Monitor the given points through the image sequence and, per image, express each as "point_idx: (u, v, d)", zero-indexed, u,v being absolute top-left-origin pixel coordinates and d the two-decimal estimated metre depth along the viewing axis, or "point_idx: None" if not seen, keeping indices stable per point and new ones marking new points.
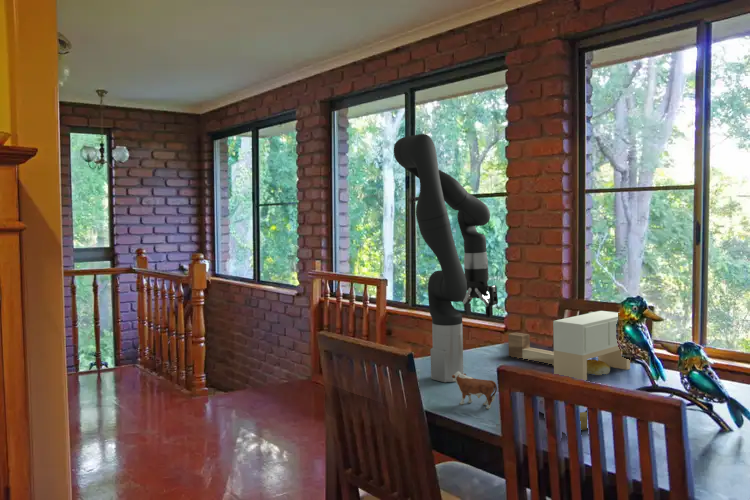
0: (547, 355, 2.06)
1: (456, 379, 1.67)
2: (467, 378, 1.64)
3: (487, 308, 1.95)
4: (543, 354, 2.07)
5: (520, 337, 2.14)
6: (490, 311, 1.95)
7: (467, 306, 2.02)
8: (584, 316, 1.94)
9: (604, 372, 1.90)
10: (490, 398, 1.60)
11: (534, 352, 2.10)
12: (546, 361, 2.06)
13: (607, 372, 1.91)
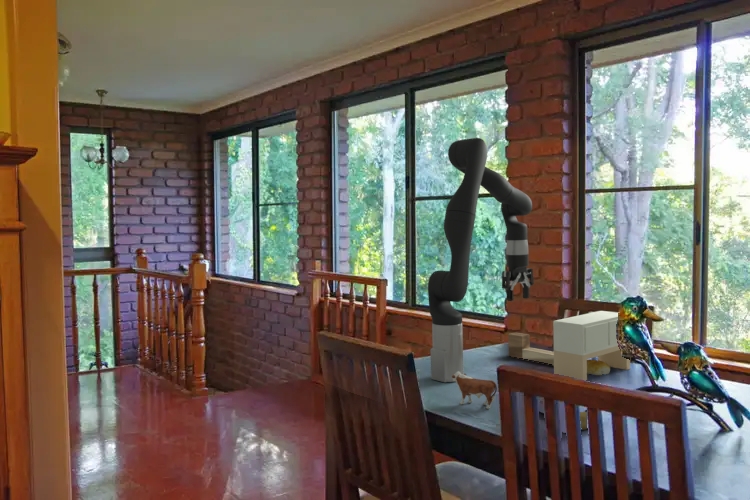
0: (547, 355, 2.06)
1: (456, 379, 1.67)
2: (467, 378, 1.64)
3: None
4: (543, 354, 2.07)
5: (520, 337, 2.14)
6: None
7: None
8: (584, 316, 1.94)
9: (604, 372, 1.90)
10: (490, 398, 1.60)
11: (534, 352, 2.10)
12: (546, 361, 2.06)
13: (607, 372, 1.91)
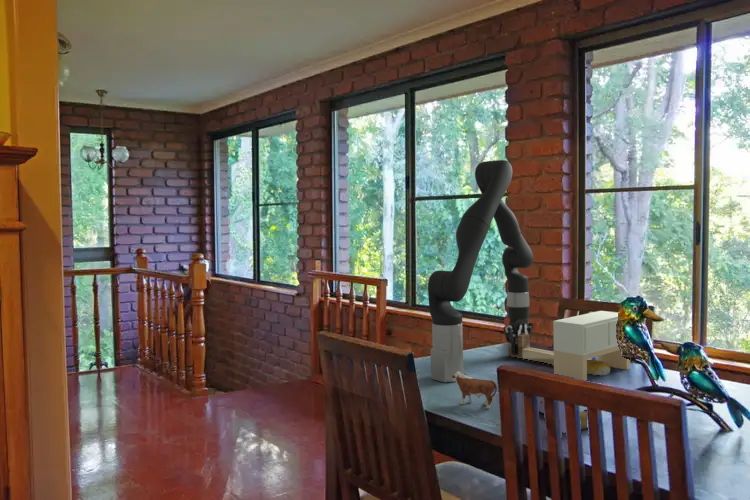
0: (547, 355, 2.06)
1: (456, 379, 1.67)
2: (467, 378, 1.64)
3: None
4: (543, 354, 2.07)
5: (520, 337, 2.14)
6: None
7: None
8: (584, 316, 1.94)
9: (604, 372, 1.90)
10: (490, 398, 1.60)
11: (534, 352, 2.10)
12: (546, 361, 2.06)
13: (607, 372, 1.91)
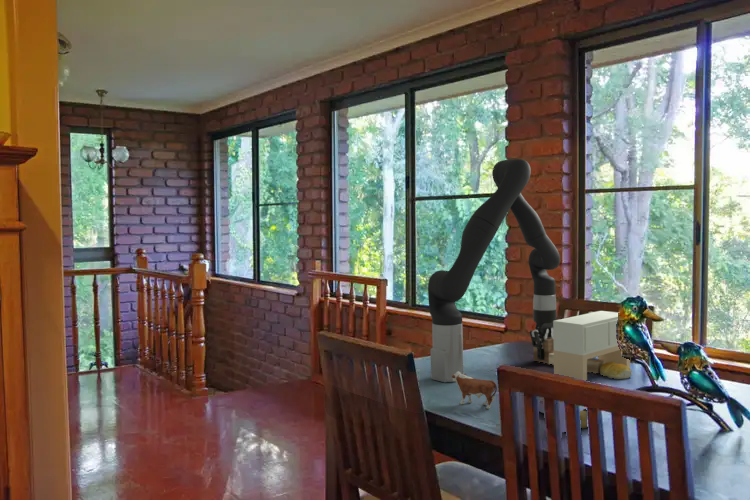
0: None
1: (456, 379, 1.67)
2: (467, 378, 1.64)
3: None
4: None
5: (546, 341, 2.06)
6: None
7: None
8: (584, 316, 1.94)
9: (626, 375, 1.85)
10: (490, 398, 1.60)
11: None
12: None
13: (629, 375, 1.86)
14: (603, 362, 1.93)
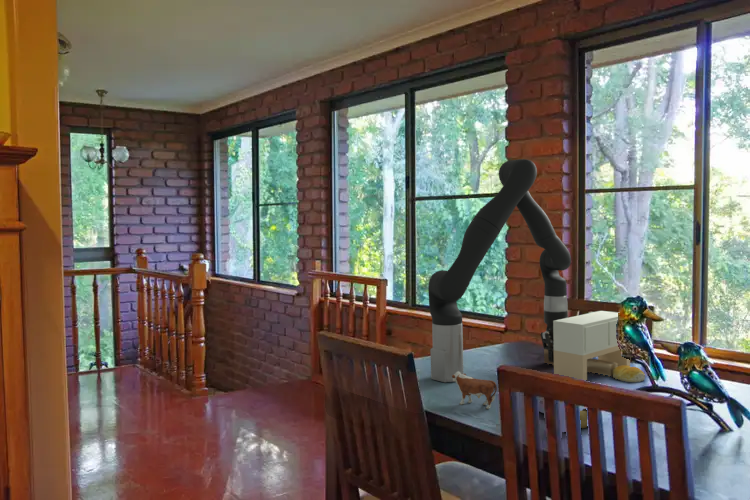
0: (587, 362, 1.94)
1: (456, 379, 1.67)
2: (467, 378, 1.64)
3: None
4: None
5: None
6: None
7: None
8: (584, 316, 1.94)
9: (639, 379, 1.82)
10: (490, 398, 1.60)
11: None
12: None
13: (642, 379, 1.82)
14: (615, 364, 1.90)
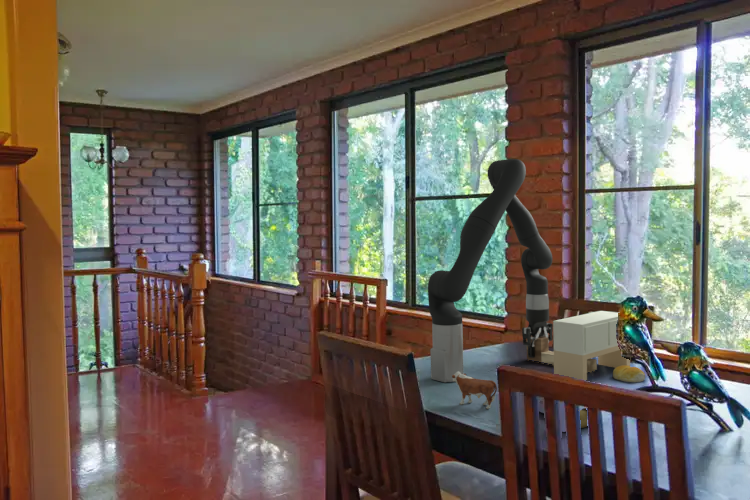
0: None
1: (456, 379, 1.67)
2: (467, 378, 1.64)
3: None
4: None
5: (539, 340, 2.08)
6: None
7: None
8: (584, 316, 1.94)
9: (640, 379, 1.82)
10: (490, 398, 1.60)
11: None
12: None
13: (642, 379, 1.82)
14: (594, 361, 1.95)
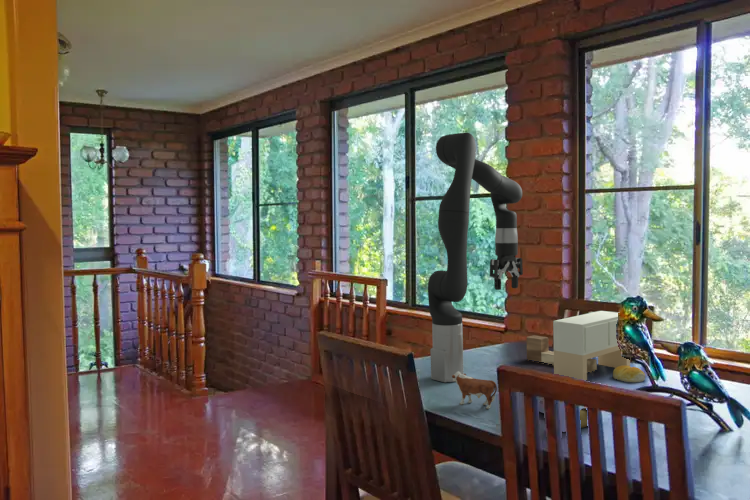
0: None
1: (456, 379, 1.67)
2: (467, 378, 1.64)
3: None
4: None
5: (539, 340, 2.08)
6: None
7: None
8: (584, 316, 1.94)
9: (640, 379, 1.82)
10: (490, 398, 1.60)
11: None
12: None
13: (642, 379, 1.82)
14: (594, 361, 1.95)
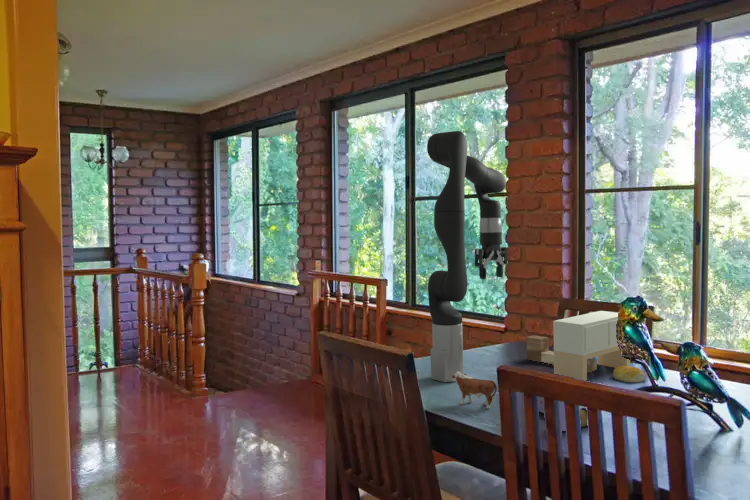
0: None
1: (456, 379, 1.67)
2: (467, 378, 1.64)
3: None
4: None
5: (539, 340, 2.08)
6: None
7: None
8: (584, 316, 1.94)
9: (640, 379, 1.82)
10: (490, 398, 1.60)
11: None
12: None
13: (643, 379, 1.82)
14: (594, 361, 1.95)
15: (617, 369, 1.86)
